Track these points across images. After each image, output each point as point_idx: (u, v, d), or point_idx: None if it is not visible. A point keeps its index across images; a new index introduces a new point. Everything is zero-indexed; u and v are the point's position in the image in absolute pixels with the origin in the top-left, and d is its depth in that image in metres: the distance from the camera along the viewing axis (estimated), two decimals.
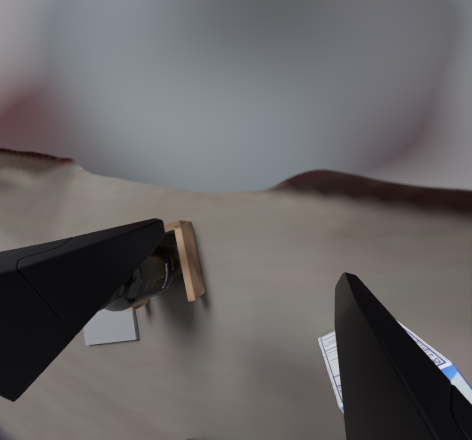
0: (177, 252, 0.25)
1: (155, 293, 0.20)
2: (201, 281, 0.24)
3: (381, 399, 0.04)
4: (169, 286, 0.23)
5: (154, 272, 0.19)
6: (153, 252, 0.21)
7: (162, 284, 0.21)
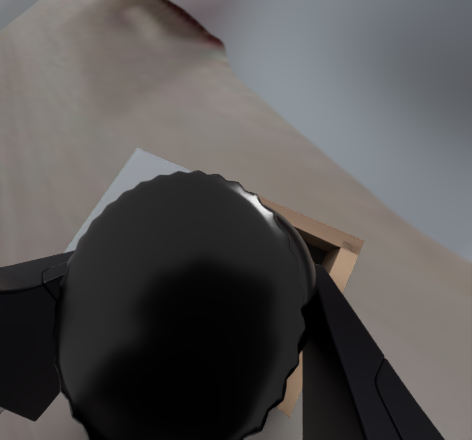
0: None
1: None
2: None
3: (325, 374, 0.04)
4: None
5: None
6: None
7: None
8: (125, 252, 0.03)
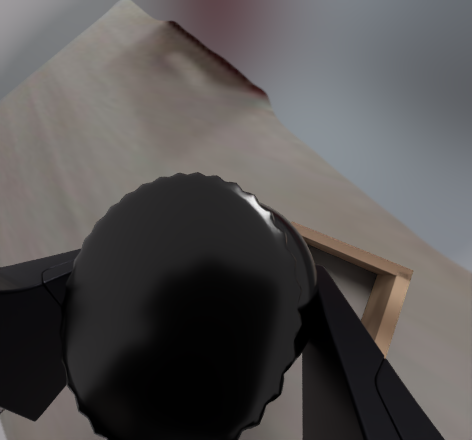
0: None
1: None
2: None
3: (325, 374, 0.04)
4: None
5: None
6: None
7: None
8: (128, 252, 0.03)
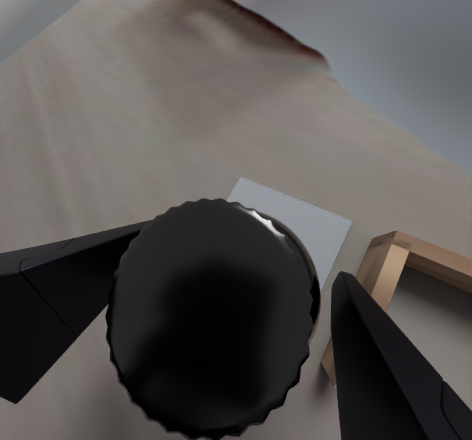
0: None
1: None
2: None
3: (374, 396, 0.04)
4: None
5: None
6: None
7: None
8: (163, 268, 0.04)
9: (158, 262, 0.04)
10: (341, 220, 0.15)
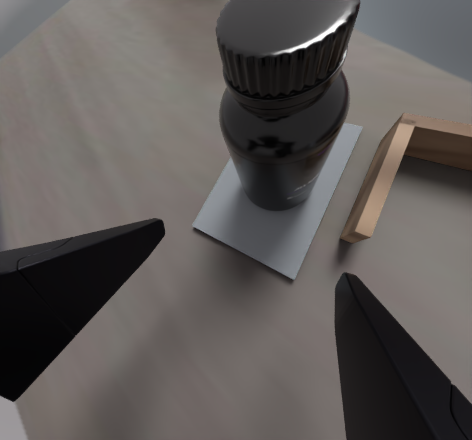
0: None
1: (288, 186, 0.11)
2: None
3: (381, 399, 0.04)
4: (287, 200, 0.13)
5: (332, 147, 0.10)
6: None
7: (304, 182, 0.11)
8: (254, 3, 0.06)
9: (250, 2, 0.06)
10: (353, 127, 0.17)
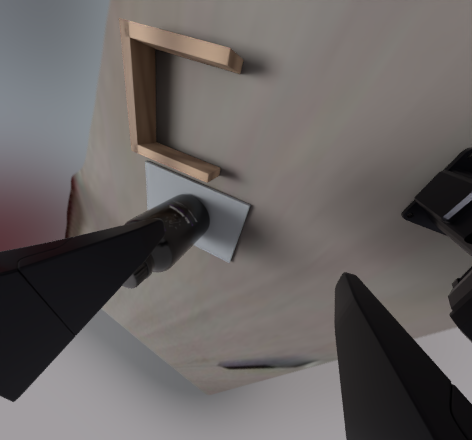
0: (179, 195, 0.23)
1: (186, 230, 0.20)
2: None
3: (381, 399, 0.04)
4: (198, 219, 0.21)
5: (161, 216, 0.18)
6: None
7: (183, 220, 0.20)
8: None
9: None
10: (147, 167, 0.24)
